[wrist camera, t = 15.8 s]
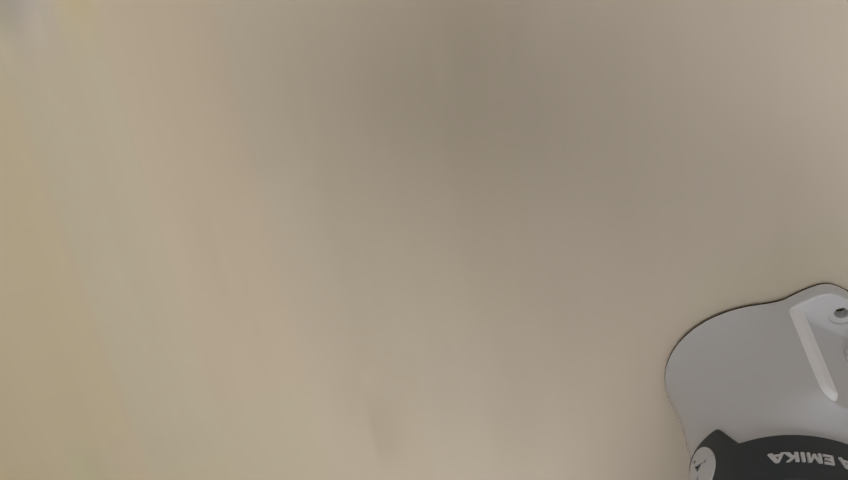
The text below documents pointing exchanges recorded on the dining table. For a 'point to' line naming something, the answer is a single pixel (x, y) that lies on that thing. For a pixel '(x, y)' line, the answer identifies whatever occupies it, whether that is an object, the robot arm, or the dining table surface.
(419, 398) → the dining table surface
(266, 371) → the dining table surface
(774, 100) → the dining table surface
